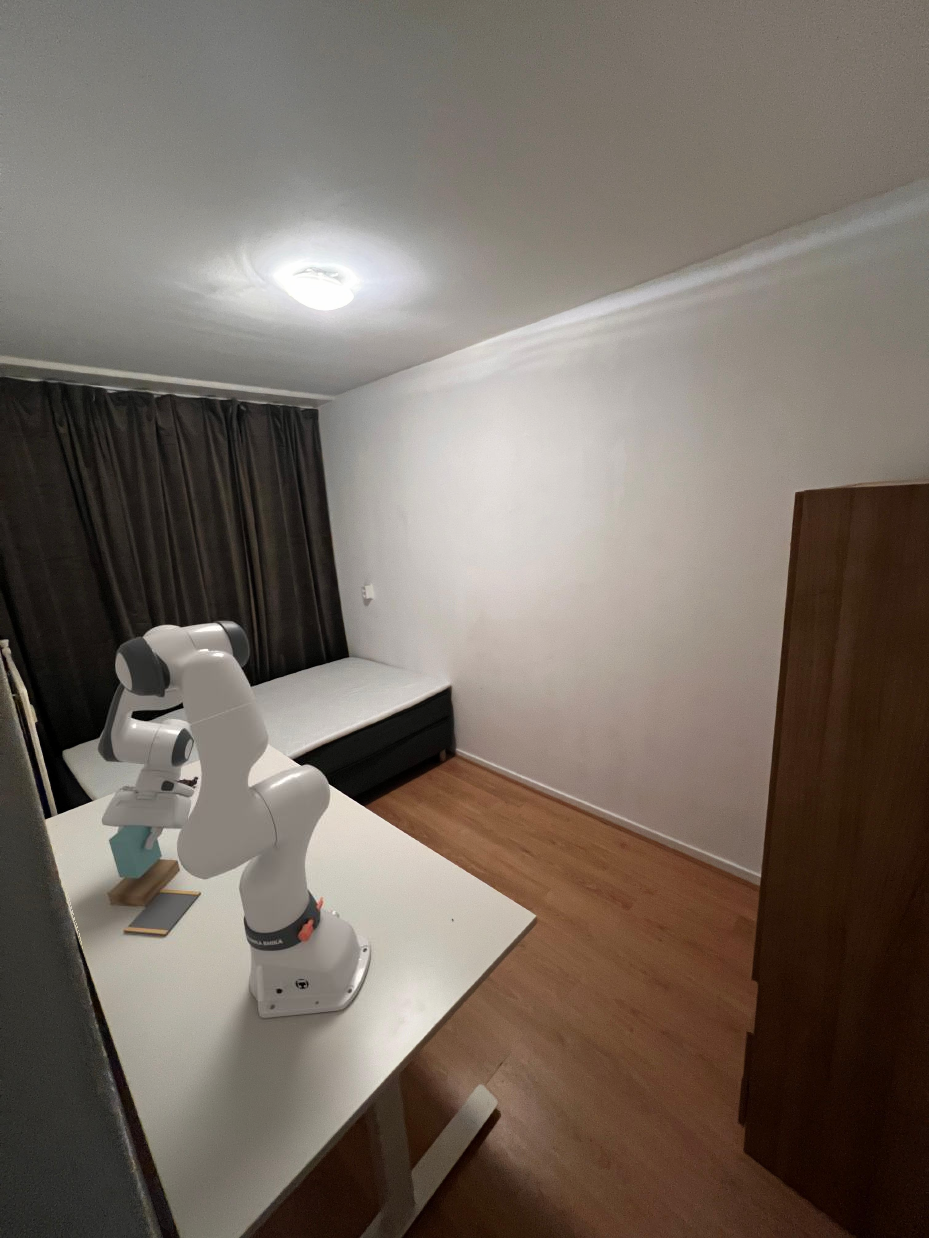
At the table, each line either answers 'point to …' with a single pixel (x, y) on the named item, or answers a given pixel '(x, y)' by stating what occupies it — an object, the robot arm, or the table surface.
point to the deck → (144, 885)
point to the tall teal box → (133, 851)
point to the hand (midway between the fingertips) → (133, 848)
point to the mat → (163, 912)
